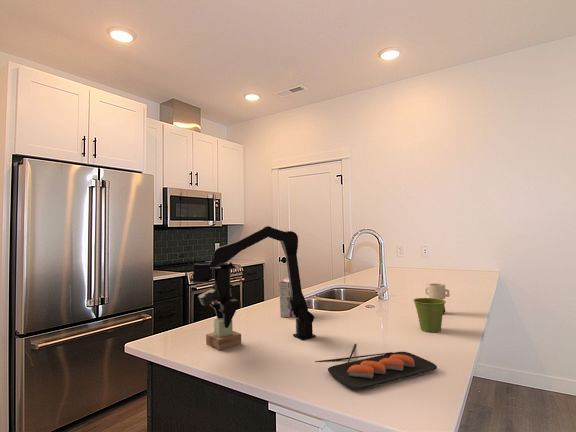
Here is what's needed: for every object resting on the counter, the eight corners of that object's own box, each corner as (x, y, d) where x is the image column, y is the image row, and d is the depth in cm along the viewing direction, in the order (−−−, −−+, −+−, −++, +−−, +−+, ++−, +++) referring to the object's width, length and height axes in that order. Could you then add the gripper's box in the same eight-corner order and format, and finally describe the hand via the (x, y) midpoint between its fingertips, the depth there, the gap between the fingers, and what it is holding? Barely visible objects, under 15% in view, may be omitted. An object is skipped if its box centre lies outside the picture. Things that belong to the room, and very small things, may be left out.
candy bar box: (284, 311, 165) (283, 278, 166) (294, 311, 164) (293, 278, 165) (279, 317, 154) (278, 281, 155) (290, 317, 153) (289, 281, 154)
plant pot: (451, 329, 130) (450, 299, 131) (441, 336, 122) (439, 305, 122) (421, 323, 138) (420, 296, 139) (409, 330, 130) (407, 301, 130)
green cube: (232, 334, 119) (232, 320, 119) (219, 337, 117) (218, 322, 117) (227, 330, 123) (227, 317, 124) (214, 333, 121) (214, 319, 121)
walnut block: (241, 345, 119) (241, 333, 120) (219, 351, 113) (218, 339, 114) (228, 339, 126) (227, 328, 126) (206, 345, 120) (206, 334, 120)
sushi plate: (353, 397, 80) (353, 381, 81) (299, 356, 108) (299, 344, 108) (442, 373, 92) (441, 359, 92) (373, 341, 120) (373, 330, 120)
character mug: (453, 313, 154) (451, 284, 154) (447, 316, 149) (446, 286, 149) (429, 309, 161) (427, 282, 162) (423, 312, 156) (421, 284, 157)
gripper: (192, 281, 124) (193, 323, 124) (209, 287, 109) (209, 336, 108) (221, 278, 130) (222, 318, 130) (241, 284, 114) (242, 330, 114)
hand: (223, 325), depth 120 cm, fingers open, 6 cm apart
